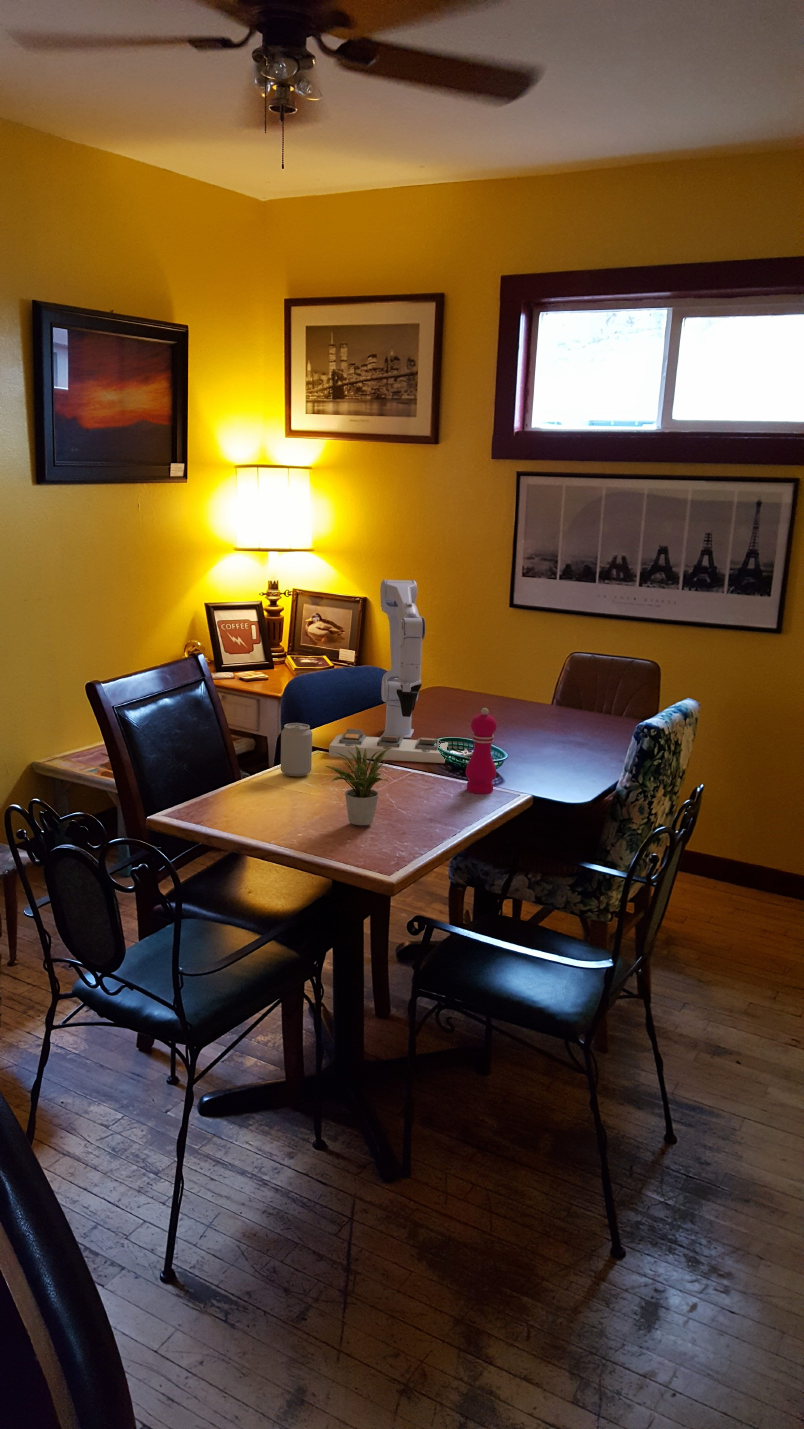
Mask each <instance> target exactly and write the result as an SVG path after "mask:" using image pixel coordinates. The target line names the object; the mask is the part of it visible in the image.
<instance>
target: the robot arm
mask: <svg viewBox="0 0 804 1429" xmlns="http://www.w3.org/2000/svg"><path fill="white" fill-rule="evenodd" d="M379 590H380V592H379V594H380V595H379V596H380V608H381V611H382V612H383V613H385V614H386V615H387V619H388V626H389V628H388V629H389V646H390V647H389V649H390V651H389V652H390V669H389V670H388V671H386V672H385V673H384V674H383V676H382V678H381V689H380V691H381V694H380V695H381V701H383V702H384V703H386V705H385V706H386V708H385V710H386V712H385V729H384V731H383V733H382V735H394V736H399V737H403V739H411V738H412V736H413V733H414V731H415V729H414V728H412V712H413V711H414V710H415V707H416V702H418V699H419V694H420V689H421V688H422V685H423V684H422V678H421V677H422V676H421V675H422V659H423V658H422V657H423V656H422V655H423V640H424V639H425V638H426V637H425V636H426V628H427V626H426V620H425V617H424V616H420V613H419V610H418V606H417V605H416V600H417V598H418V597H417V596H418V585H417V582H416V580H415V579H414V580H413V579H412V580H405V579H404V580H400V579H399V580H397V579H382V580H381V581H380V589H379Z"/></svg>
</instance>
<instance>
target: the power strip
mask: <svg viewBox="0 0 804 1429" xmlns="http://www.w3.org/2000/svg"><path fill="white" fill-rule="evenodd" d="M345 733H346V732H344V733H343V734H337V735H336V736H335V737H334V738H333V740H332V741H331V742H330V744H329V745H328V747H329V748H328V756H329V757H331V758H332V757H333V758H341V757H342V758H344V757H343V756H341V755H339V754H337V753H340V754H342V755H344V756H346V757H347V758H348V759H354V758H353V756H352V755H351V754H350V752H351V753H352V754H353V755H354V756H355V757H356V758H357V753H356V747H355V745H356V746H357V747H358V748H359V750H360V752H361V759H363V756H364V750H365V749H366V752H367V760H370V759H371V757H372V755H373V754H374V753H376V752H378V751H381V752H382V751H384V750H386V749H390V750H388V751H386V752H385V754H384V755H385V756H384V755H383V756H384V757H383V759H382V760H381V761H383V760H384V761H385V760H386V759H387V760H386V761H402V762H415V763H416V762H417V763H418V762H419V763H432V764H433V763H436V764H438V763H439V764H445V761H446V758H445V759H444V757H443V756H442V755H441V753H440V752H439V751H438V746H440V748H442V749H444V750H447V747H448V748H449V742H447V741H444V742H445V743H441V744H440V743H439V741H440V742H441V739H439V738H438V739H437V740H436V742H437V743H436V746H435V745H434V744H424V743H419V741H420V739H421V738H422V737H418V738H417V739H409V738H403V737H399V740H398V741H397V742H396V741H382V740H381V737H382V736H383V735H380V737H378V736H367V734H366V733H362V735H361V738H360V740H359V741H358V740H344V736H345ZM439 744H440V745H439ZM391 748H392V749H391ZM331 751H332V752H331ZM349 751H350V752H349ZM334 752H336V753H334ZM381 752H378V753H377V754H376V755H375V756H374V757H373V758H372V760H375V758H376V757H377V756H378V755H379V754H380V753H381ZM338 756H339V757H338ZM381 758H382V757H381ZM381 758H380V759H381Z"/></svg>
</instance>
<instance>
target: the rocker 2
mask: <svg viewBox="0 0 804 1429" xmlns="http://www.w3.org/2000/svg"><path fill="white" fill-rule="evenodd" d="M380 737H381V736H380ZM381 740H382V741H396V742H397V741H398V740H399V736H394V735H383V736H382V737H381Z"/></svg>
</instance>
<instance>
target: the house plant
mask: <svg viewBox="0 0 804 1429" xmlns="http://www.w3.org/2000/svg"><path fill="white" fill-rule="evenodd" d="M355 747H356V753H357V758H356V757H355V756H354V755H353V754H352V753H351V752H350V751H349V752H350V754H351V755H352V756H353V758H352V759H354V762H355V765H354V764H353V762H352V760H350V758H347V757H346V756H344V755H342V754H340V753H337V754H339V755H341V756H343V757H339V756H338V757H335V759H337V760H339V761H341V762H343V763H344V764H345V765H346V766H347V768H349V770H350V771H348V772H347V771H345V770H343V769H341V768H338V767H335V766H331V765H330V766H329V765H325V767H326V768H328V769H330V770H331V772H332V773H336V774H337V775H338V776H336V777H334V778H333V779H332V780H331V783H332V782H335V781H337V780H344V781H345V782H346V783H347V784H348V785H349V787H351V788H350V789H347V790H345V792H344V796H345V802H346V811H347V818H348V819H347V820H348V822H349V823H350V824H352V825H355V826H368V825H371V824H373V822H374V818H375V813H376V809H377V805H378V804H377V803H378V800H379V799H378V798H379V791H377V790H375V789H372V788H373V787H374V785H375V784H376V783H378V782H380V781H387V783H390V781H389V780H388V779H385V778H382V777H380V776H381V775H383V776H385V774H384V773H383V772H382V773H381V772H378V771H379V769H380V768H381V767H382V766H383V765H384V764H385V763H386V761H388V760H387V759H386V760H384V761H383V760H382V759H383V757H384V756H385V755H384V754H385V752H386V751H388V750H390V749H386V750H384V751H382V752H381V751H378V752H381V753H380V754H379V755H378V756H377V757H376V758H375V759H372V758H373V757H374V756H375V755H376V754H377V753H378V752H376V753H374V754H373V755H372V757H371V759H369V761H368V764H367V760H368V759H367V752H366V749H365V750H364V756H363V758H361V752H360V750H359V748H358V747H357V746H356V745H355ZM391 749H392V748H391ZM331 752H332V751H331ZM334 753H336V752H334ZM383 755H384V756H383ZM381 757H382V758H381ZM340 758H341V759H340ZM380 758H381V759H380ZM342 759H343V760H345V761H343V760H342ZM372 760H373V762H372ZM381 761H383V762H382V763H381ZM371 762H372V764H371ZM380 763H381V764H380ZM370 765H371V767H370ZM352 768H353V769H354V770H353V769H352ZM369 768H370V770H369ZM368 770H369V773H368Z"/></svg>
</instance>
